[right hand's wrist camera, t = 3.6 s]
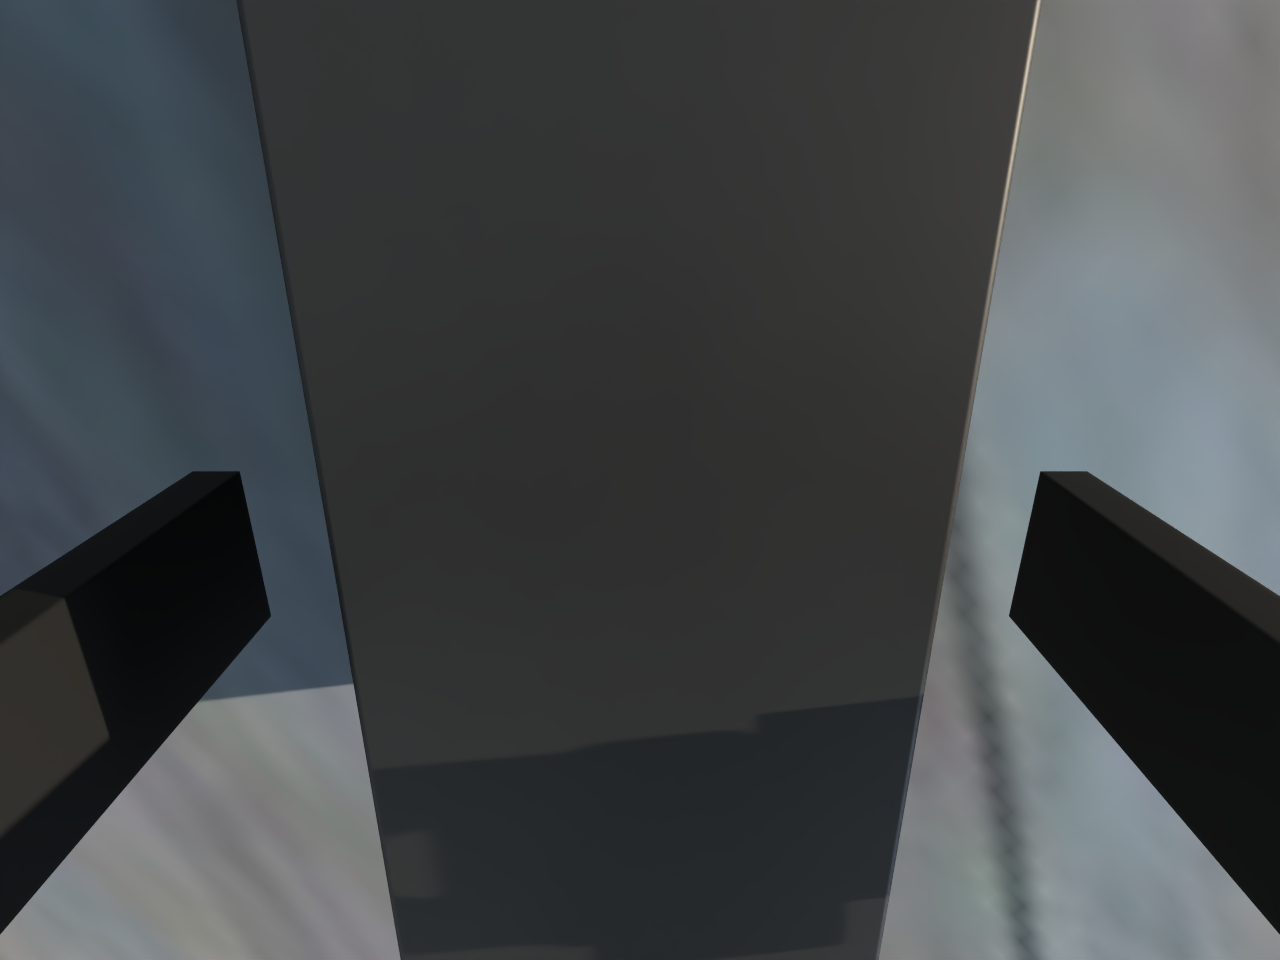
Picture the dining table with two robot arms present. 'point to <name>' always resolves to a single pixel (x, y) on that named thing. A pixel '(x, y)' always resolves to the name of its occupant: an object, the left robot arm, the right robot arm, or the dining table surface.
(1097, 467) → the dining table surface
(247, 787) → the dining table surface
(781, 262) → the bar
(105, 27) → the dining table surface
